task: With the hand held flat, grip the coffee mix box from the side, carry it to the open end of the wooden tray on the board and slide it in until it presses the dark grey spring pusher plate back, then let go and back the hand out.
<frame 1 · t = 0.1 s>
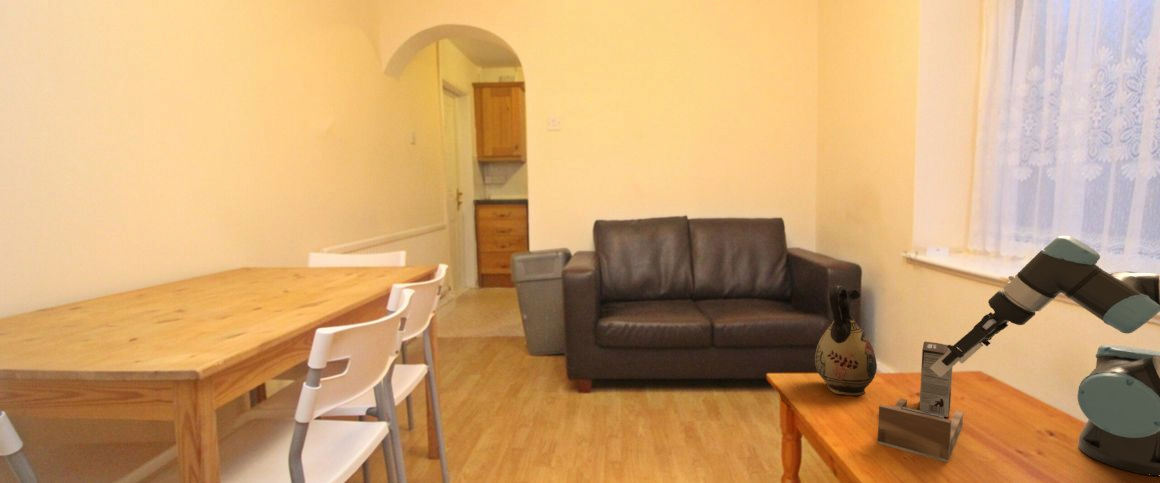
hand: (946, 365, 122), 15 cm above the table, tool tilted 35°, fingers open, 13 cm apart
ceramic jug: (842, 391, 148), on the table
coffee box: (934, 409, 134), on the table, touching gripper
pusher: (920, 424, 120), point 3 cm above the table, slide at 0.0 cm
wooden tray: (924, 428, 124), on the table
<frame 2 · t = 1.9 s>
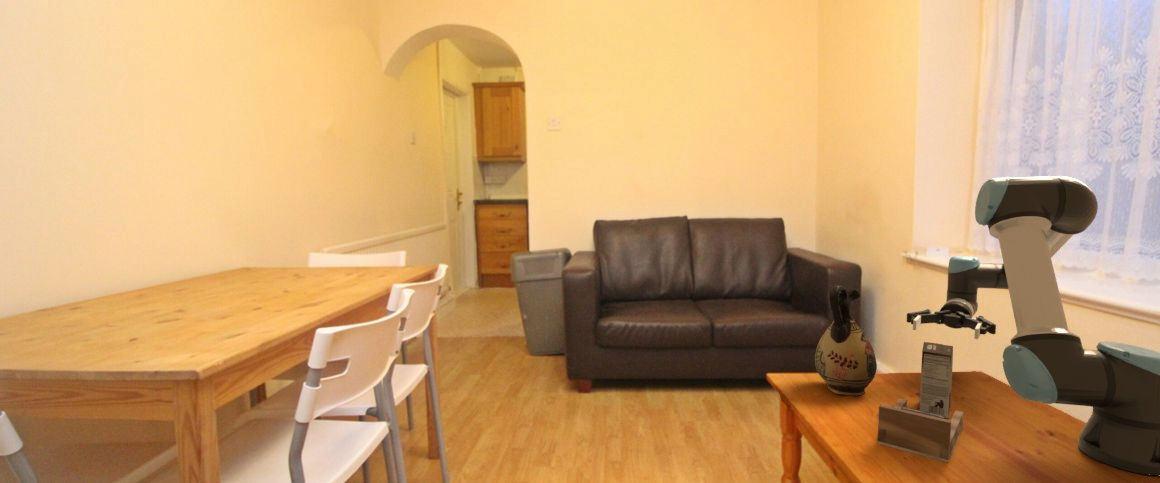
hand: (944, 329, 140), 19 cm above the table, tool horizontal, fingers open, 13 cm apart
coffee box: (934, 410, 134), on the table
everything else where it was.
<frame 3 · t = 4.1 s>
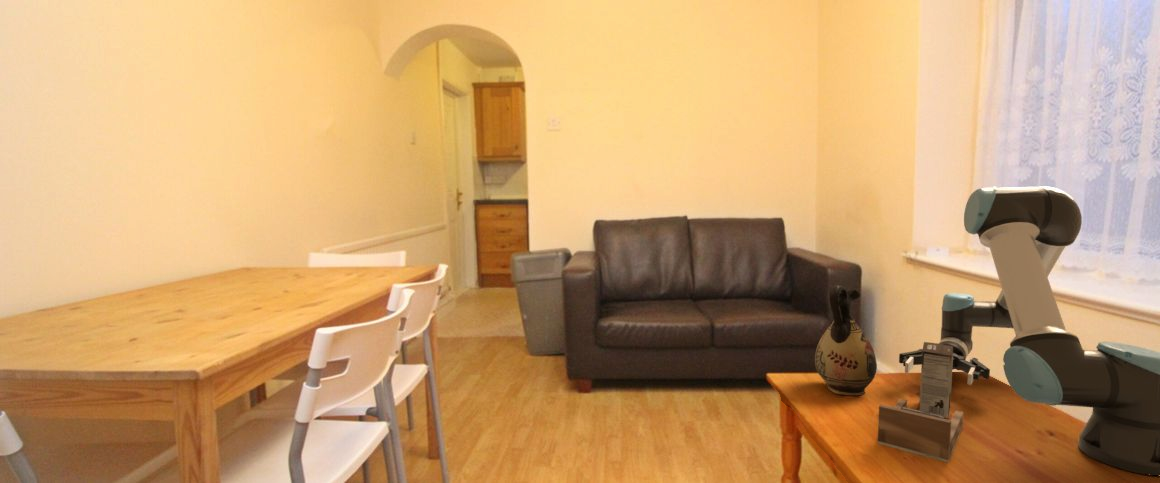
hand: (936, 373, 136), 8 cm above the table, tool horizontal, fingers open, 13 cm apart
nothing on the table moved.
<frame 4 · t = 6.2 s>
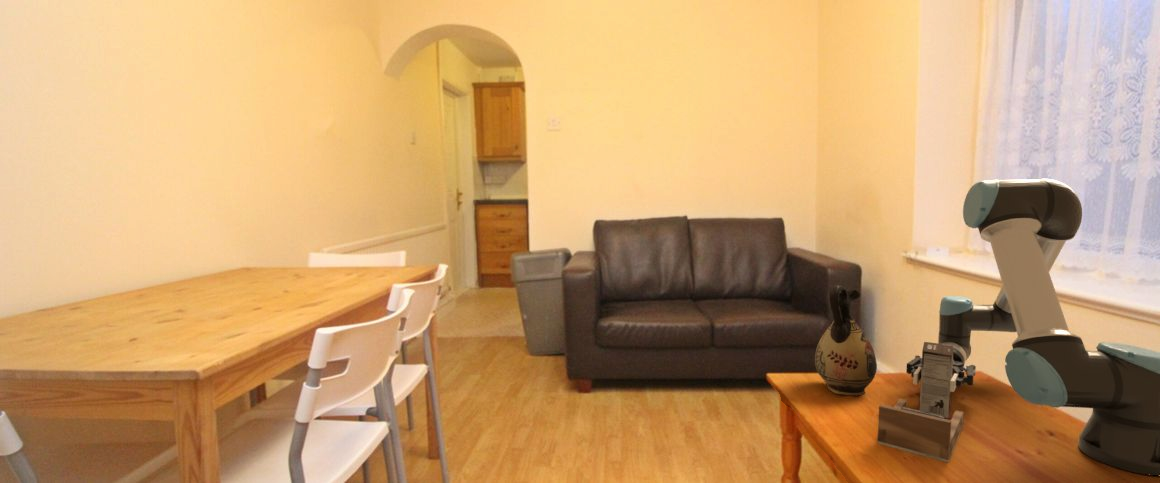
hand: (933, 382, 130), 9 cm above the table, tool horizontal, fingers closed on coffee box, 7 cm apart
coffee box: (934, 410, 134), on the table, touching gripper
everything else where it was.
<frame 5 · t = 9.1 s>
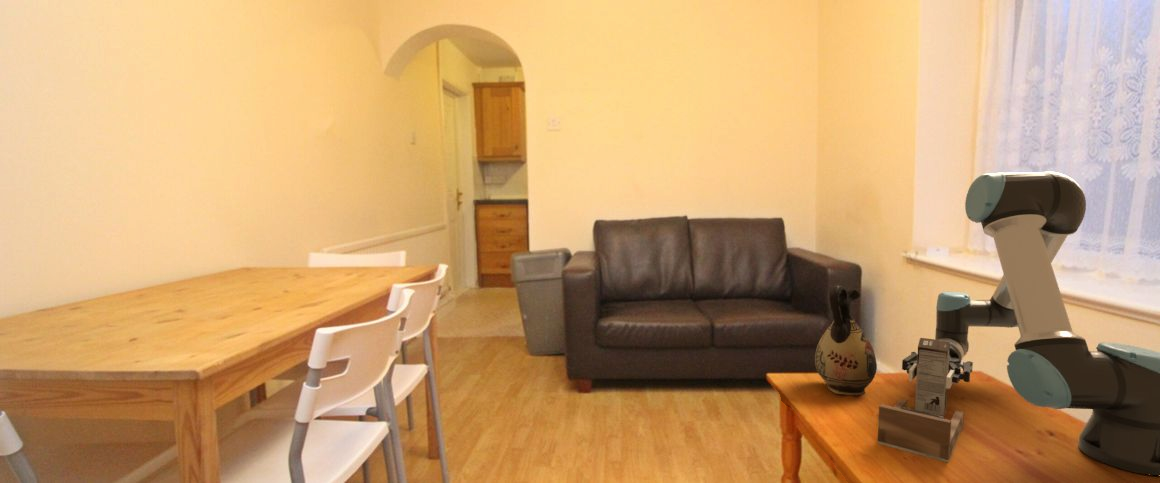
hand: (928, 379, 127), 10 cm above the table, tool horizontal, fingers closed on coffee box, 7 cm apart
coffee box: (930, 407, 132), point 2 cm above the table, touching gripper
everything else where it was.
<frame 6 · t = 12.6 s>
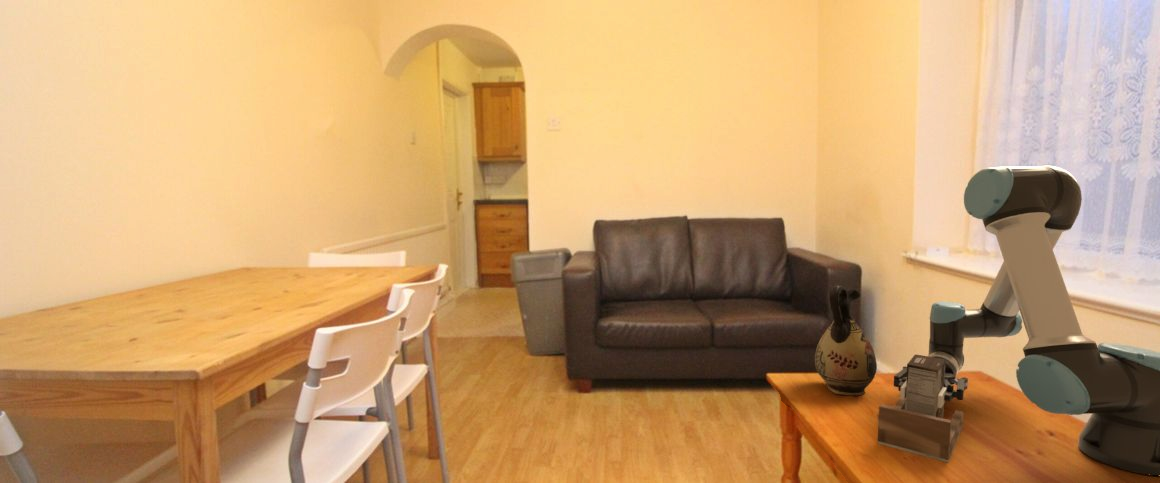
hand: (920, 397, 118), 10 cm above the table, tool horizontal, fingers closed on coffee box, 6 cm apart
coffee box: (923, 429, 123), resting on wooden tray, touching gripper
pusher: (918, 428, 118), point 3 cm above the table, slide at 2.7 cm
everything else where it was.
when the fingers open (10 cm above the table, at t = 12.6 s): coffee box stays where it is, resting on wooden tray.
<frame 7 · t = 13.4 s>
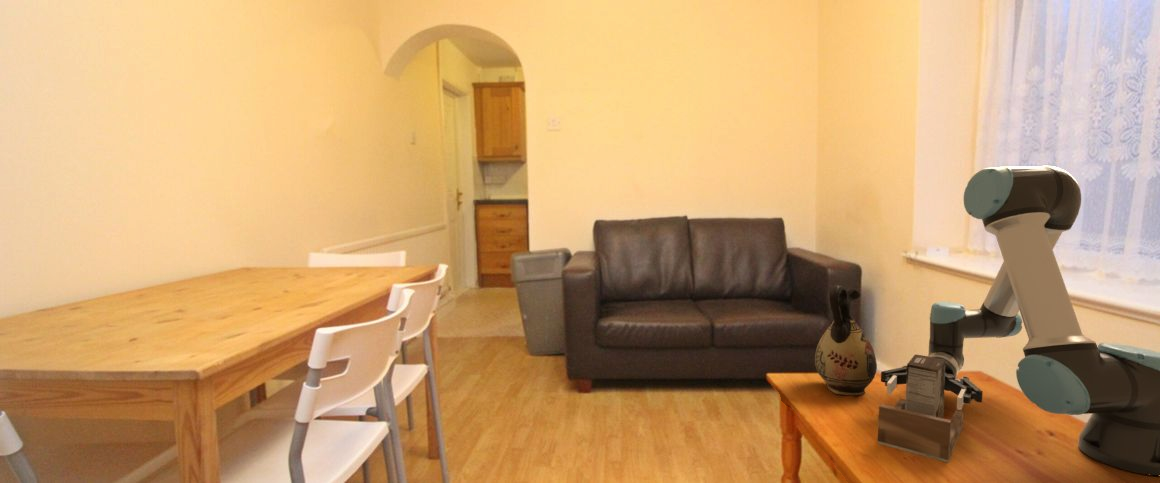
hand: (922, 396, 119), 10 cm above the table, tool horizontal, fingers open, 13 cm apart
coffee box: (923, 429, 123), resting on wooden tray
everything else where it was.
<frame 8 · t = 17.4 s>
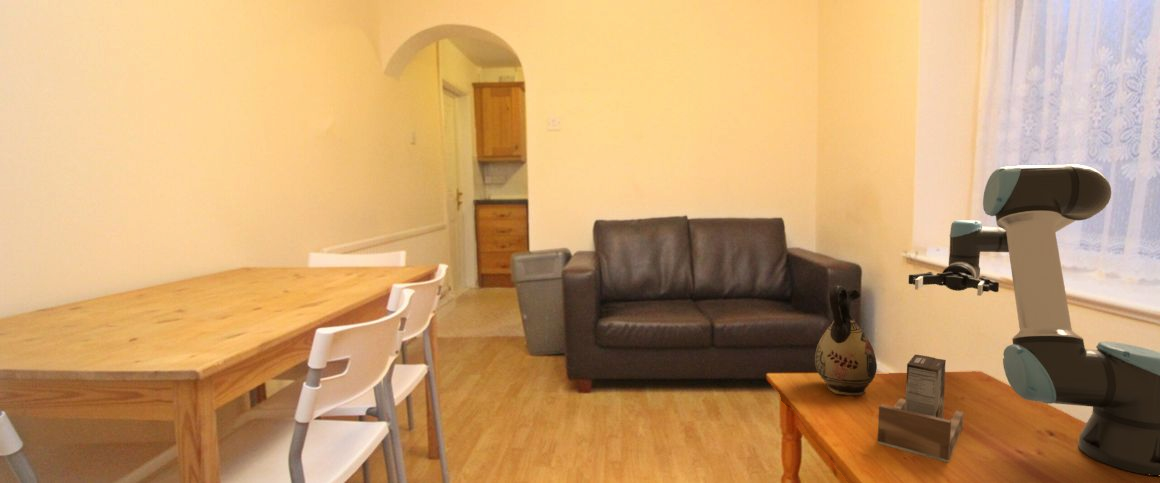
hand: (946, 287, 138), 30 cm above the table, tool horizontal, fingers open, 13 cm apart
nothing on the table moved.
at the end: coffee box inside the target area (1.5 cm from its centre), resting on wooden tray; coffee box tilted 0° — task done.
